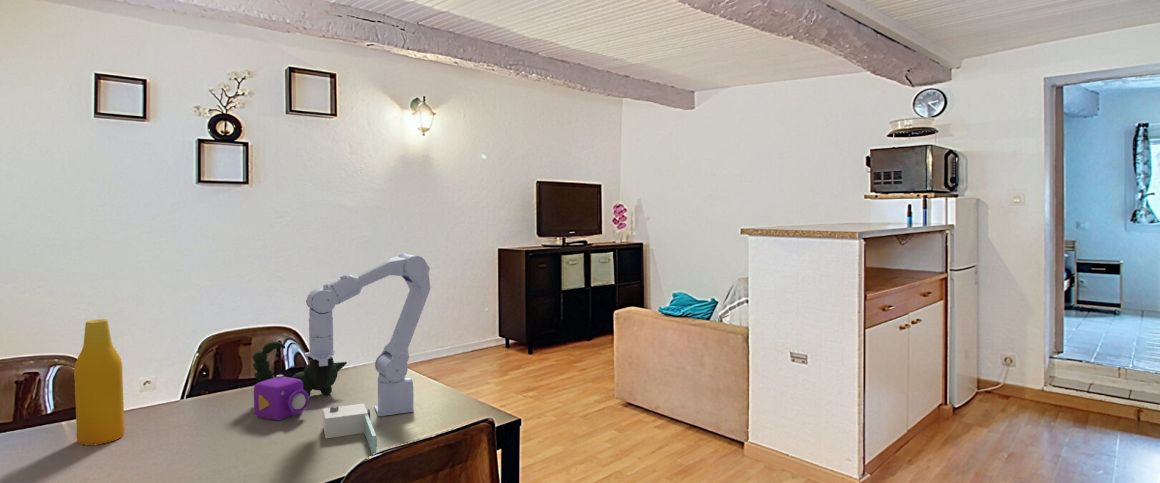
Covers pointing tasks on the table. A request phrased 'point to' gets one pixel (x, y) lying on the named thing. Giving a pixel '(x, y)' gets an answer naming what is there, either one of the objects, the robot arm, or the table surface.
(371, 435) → the side door
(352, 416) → the block
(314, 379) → the toy figurine
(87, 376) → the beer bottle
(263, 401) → the toy camera
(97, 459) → the table surface
